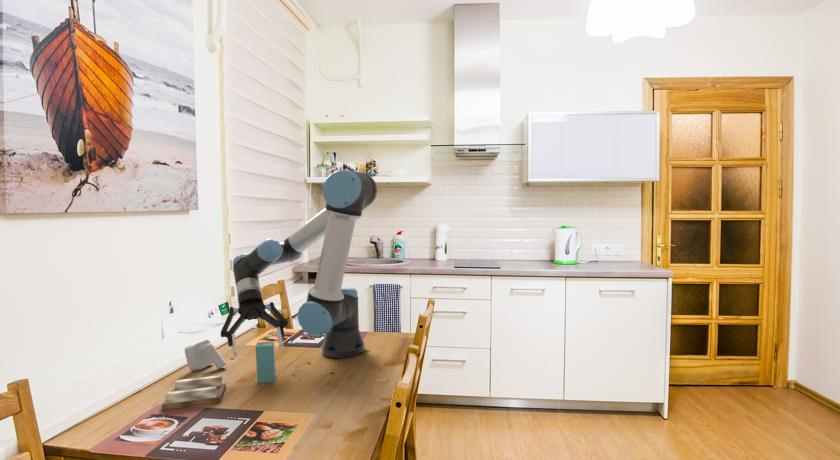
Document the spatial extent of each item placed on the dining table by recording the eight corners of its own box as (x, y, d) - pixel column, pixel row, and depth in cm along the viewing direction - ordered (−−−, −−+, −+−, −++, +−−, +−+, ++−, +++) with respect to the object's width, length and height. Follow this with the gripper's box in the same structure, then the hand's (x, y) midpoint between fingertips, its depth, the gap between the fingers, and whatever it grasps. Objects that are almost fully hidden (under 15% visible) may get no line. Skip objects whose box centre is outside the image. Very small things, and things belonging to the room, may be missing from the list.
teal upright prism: (275, 375, 137) (274, 341, 136) (275, 381, 132) (273, 345, 132) (258, 378, 135) (257, 342, 135) (257, 383, 131) (255, 347, 131)
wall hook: (218, 371, 140) (210, 341, 140) (191, 378, 142) (183, 348, 142) (234, 363, 148) (226, 334, 148) (208, 369, 150) (200, 340, 150)
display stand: (226, 388, 128) (225, 374, 128) (220, 402, 118) (219, 387, 118) (172, 394, 124) (171, 381, 124) (162, 410, 115) (161, 395, 115)
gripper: (285, 296, 157) (297, 349, 145) (208, 305, 145) (214, 364, 132) (288, 284, 152) (301, 337, 140) (208, 292, 140) (215, 351, 127)
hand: (259, 350), depth 136 cm, fingers open, 13 cm apart
